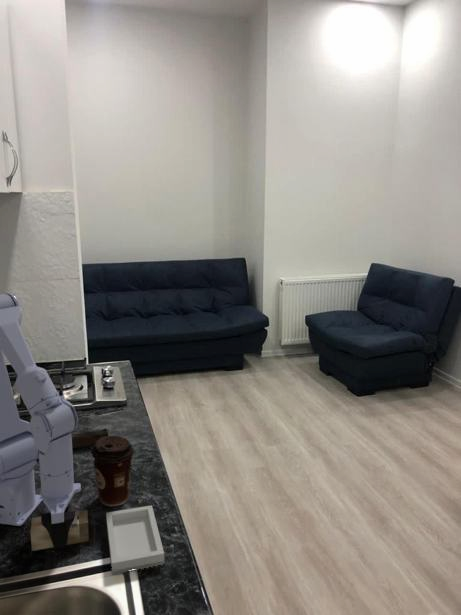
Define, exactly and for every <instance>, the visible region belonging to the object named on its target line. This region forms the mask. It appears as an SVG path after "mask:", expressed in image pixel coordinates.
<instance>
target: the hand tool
mask: <svg viewBox="0 0 461 615" xmlns="http://www.w3.org/2000/svg"><path fill="white" fill-rule="evenodd" d="M71 434H72V433H71ZM107 436H110V435H109V430H108V428H102V429H100V430H92V431H82V432H80V433H79V432H78V433H73V434H72V449H75V448H83V447H89V446H91V447H92V446H94V445H95V444H96V442H97V441H98V440H99V439H100V438H102V437H107Z"/></svg>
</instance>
